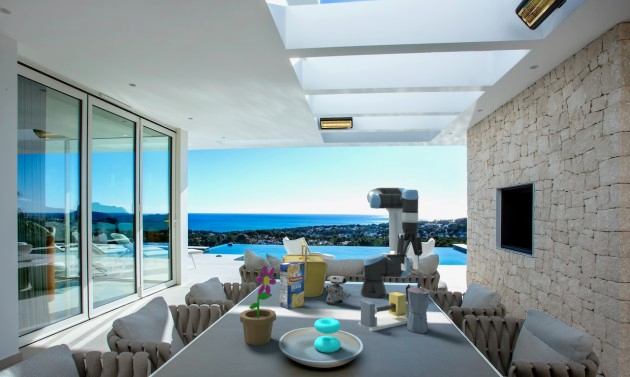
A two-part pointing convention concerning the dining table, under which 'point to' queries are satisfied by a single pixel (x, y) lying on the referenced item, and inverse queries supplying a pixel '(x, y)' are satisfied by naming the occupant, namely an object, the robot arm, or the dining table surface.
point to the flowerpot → (259, 314)
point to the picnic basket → (310, 271)
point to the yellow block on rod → (397, 304)
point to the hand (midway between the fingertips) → (409, 269)
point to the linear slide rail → (380, 323)
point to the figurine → (335, 289)
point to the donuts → (327, 342)
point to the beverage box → (291, 285)
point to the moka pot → (417, 308)
